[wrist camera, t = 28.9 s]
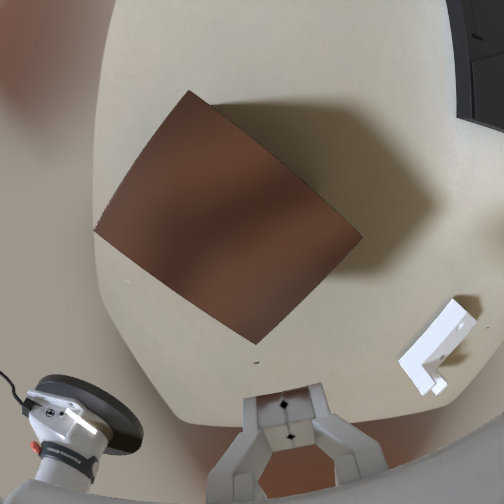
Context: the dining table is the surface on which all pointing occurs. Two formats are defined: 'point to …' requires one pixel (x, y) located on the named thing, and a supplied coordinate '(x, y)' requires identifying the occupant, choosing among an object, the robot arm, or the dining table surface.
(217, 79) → the dining table surface
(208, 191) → the lid
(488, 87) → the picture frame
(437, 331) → the bracket
